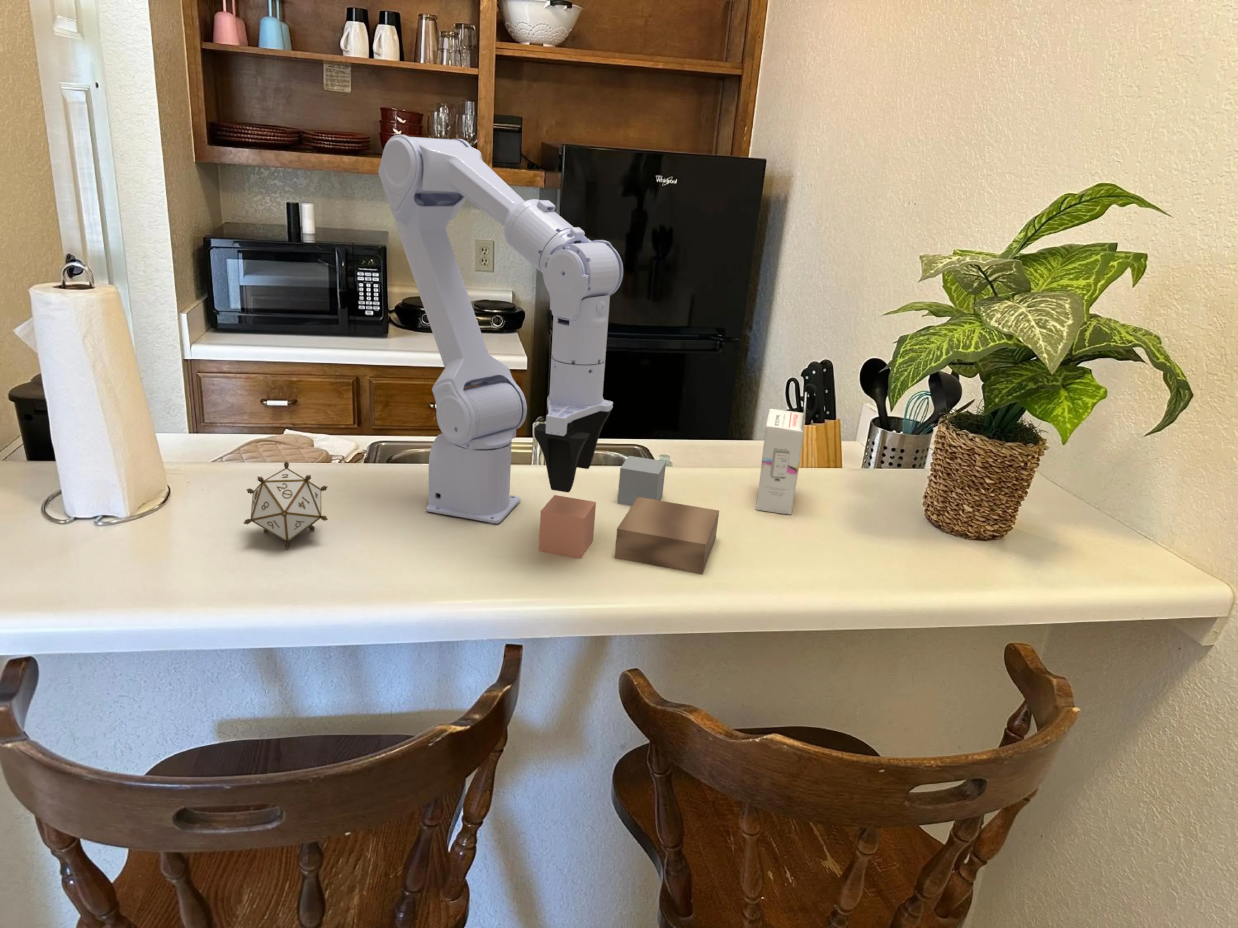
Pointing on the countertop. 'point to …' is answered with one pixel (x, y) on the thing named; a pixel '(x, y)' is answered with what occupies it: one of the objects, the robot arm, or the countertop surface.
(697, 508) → the walnut block
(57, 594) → the countertop surface
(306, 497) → the game die
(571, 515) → the salmon pink cube
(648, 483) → the grey cube
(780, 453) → the ink cartridge box
